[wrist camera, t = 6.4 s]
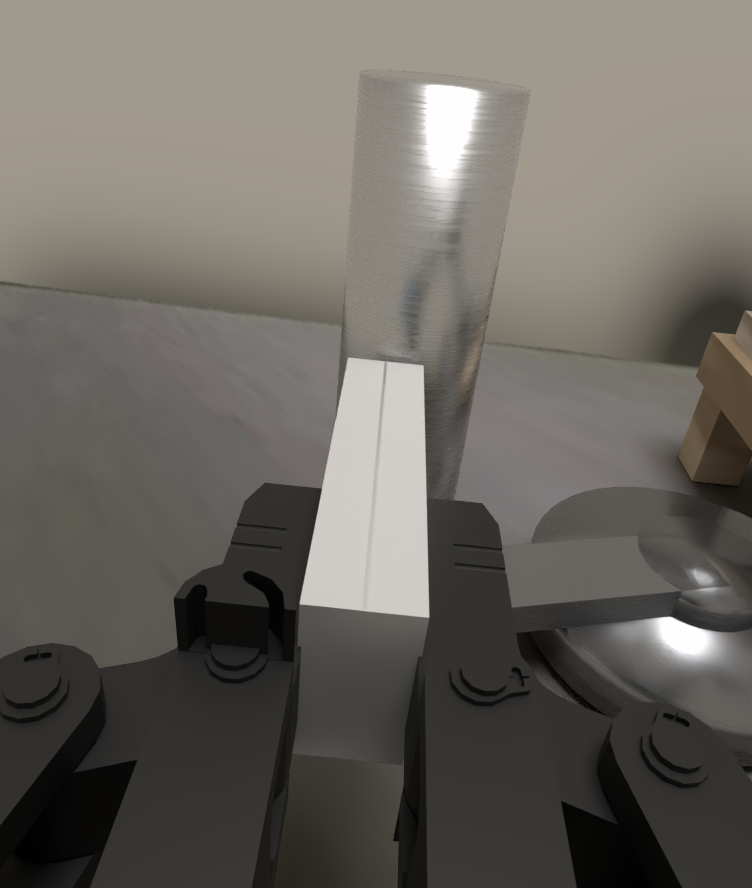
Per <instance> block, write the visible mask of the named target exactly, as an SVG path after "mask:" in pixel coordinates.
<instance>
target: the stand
mask: <svg viewBox="0 0 752 888" xmlns="http://www.w3.org/2000/svg"><path fill="white" fill-rule="evenodd" d="M696 377H697V378H698V379H699V381H700V382H701V383H702V385H703V386H704V389H703V391H702V394H701V396H700V399H699V402H698V404H697V407H696V410H695V412H694V415H693V417H692V420H691V423H690V425H689V428H688V431H687V433H686V436H685V438H684V441H683V444H682V446H681V449H680V451H679V454H678V457H679V459H680V461H681V463H682V464H683V466H684V468H685V470H686V471H687V473H688V475H689V477H690V478H691V480H692V481H696V482H705V483H714V484H723V485H733V486H739V483H740V481H741V479H742V477H743V475H744V472H745V470H746V468H747V466H748V463H749V461H750V459H751V457H752V312H750V311H745V312H744V314H743V317H742V320H741V322H740V325H739V327H738V330H737V333H736V335H733V334H723V333H715V332H712V335H711V337H710V340H709V343H708V345H707V348H706V351H705V353H704V356H703V359H702V362H701V364H700V367H699V369H698V372H697V375H696Z"/></svg>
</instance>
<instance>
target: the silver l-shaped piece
mask: <svg viewBox="0 0 752 888" xmlns="http://www.w3.org/2000/svg"><path fill="white" fill-rule="evenodd" d="M530 92H531V91H530V90H529V89H526V88H523V87H520V86H516V85H511V84H506V83H501V82H495V81H489V80H482V79H475V78H468V77H460V76H452V75H443V74H433V73H423V72H409V71H392V70H365V71H360V73H359V88H358V104H357V117H356V132H355V146H354V160H353V174H352V188H351V203H350V218H349V232H348V247H347V260H346V275H345V289H344V304H343V318H342V332H341V347H340V361H339V375H338V390H337V404H336V417H337V411H338V406H339V401H340V396H341V391H342V386H343V381H344V376H345V371H346V366H347V361H348V357H349V358H358V359H368V360H377V361H387V362H395V363H405V364H414V365H424V408H425V452H426V496H427V498H435V499H445V500H454V499H455V494H456V488H457V483H458V478H459V472H460V467H461V462H462V456H463V451H464V446H465V440H466V435H467V430H468V424H469V419H470V414H471V408H472V403H473V397H474V392H475V387H476V381H477V376H478V371H479V365H480V360H481V355H482V349H483V344H484V339H485V333H486V328H487V323H488V317H489V312H490V306H491V301H492V296H493V290H494V284H495V280H496V274H497V268H498V264H499V258H500V253H501V247H502V242H503V237H504V232H505V226H506V220H507V215H508V210H509V204H510V199H511V194H512V188H513V183H514V178H515V173H516V167H517V162H518V157H519V151H520V145H521V140H522V135H523V129H524V124H525V119H526V114H527V108H528V103H529V98H530ZM335 422H336V419H335ZM502 553H503V555H504V561H505V567H506V569H505V573H506V574H507V580H508V586H509V592H510V598H511V604H512V611H513V617H514V623H515V629H516V633H522V632H530V633H531V635H532V638H533V639H534V641H535V643H536V644H537V646H538V648H539V649H540V651H541V653H542V654H543V656H544V657H545V658H546V660H547V661H548V662H549V663H550V665H551V666H552V667H553V669H554V670H555V671H556V672H557V673H558V674H559V675H560V676H561V677H562V679H563V680H564V681H565V682H566V683H567V684H568V685H569V686H570V687H571V688H572V689H573V690H574V691H576V692H577V693H578V694H579V695H580V696H581V697H583V698H584V699H585V700H586V701H587V702H588V703H590V704H591V705H592V706H594V707H595V708H596V709H598V710H599V711H601V712H602V713H603V714H605V715H606V716H608V717H610V718H613V719H615V717H616V716H617V715H618V714H619V713H620V712H621V711H622V709H623V708H625V707H628V706H631V705H634V704H637V703H640V702H654V703H665V704H668V705H671V706H673V707H676V708H679V709H681V710H684V711H687V712H689V713H690V714H692V715H693V716H695V717H696V718H698V719H699V720H701V721H702V722H704V723H705V724H706V725H708V726H709V727H711V728H712V730H713V731H714V732H715V733H716V734H717V735H718V736H719V737H720V738H721V740H722V741H723V742H724V743H725V744H726V745H727V746H728V748H729V749H730V750H731V752H732V753H733V755H734V756H735V758H736V759H737V761H738V762H739V764H740V765H741V766H751V767H752V518H750V517H748V516H746V515H744V514H742V513H739V512H737V511H734V510H732V509H729V508H727V507H724V506H722V505H719V504H716V503H713V502H710V501H707V500H704V499H700V498H697V497H693V496H689V495H686V494H681V493H676V492H671V491H666V490H659V489H652V488H640V487H611V488H602V489H595V490H591V491H586V492H582V493H580V494H577V495H574V496H571V497H569V498H567V499H565V500H563V501H561V502H559V503H558V504H557V505H555V506H554V507H552V508H551V509H550V510H549V511H548V512H547V513H546V514H545V515H544V516H543V517H542V519H541V520H540V522H539V524H538V525H537V527H536V529H535V532H534V535H533V538H532V542H531V544H523V545H509V546H502Z"/></svg>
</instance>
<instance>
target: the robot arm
mask: <svg viewBox="0 0 752 888" xmlns="http://www.w3.org/2000/svg"><path fill="white" fill-rule="evenodd" d="M505 569H506V567H505V561H504V555H503V553H502V543H501V537H500V530H499V525H498V524H497V522H496V521H495V520H494V518H493V517H492V516H491V514H490V513H489V512H488V510H487V509H486V508H485V506H484V505H483V504H482V503H474V502H464V501H454V500H445V499H435V498H427V496H426V452H425V408H424V365H414V364H405V363H395V362H387V361H377V360H368V359H358V358H349V357H348V361H347V366H346V371H345V376H344V381H343V386H342V391H341V396H340V401H339V406H338V411H337V417H336V422H335V427H334V432H333V437H332V442H331V447H330V452H329V457H328V462H327V467H326V472H325V477H324V482H323V487H322V489H319V488H310V487H300V486H290V485H281V484H271V483H264V484H263V485H262V486H261V487H260V488H259V489H258V490H256V491H255V492H254V493H253V494H252V495H251V496H250V497H249V498H248V499H247V500H245V503H244V505H243V508H242V511H241V514H240V517H239V520H238V522H237V528H235V531H234V534H233V537H232V540H231V544H230V547H229V548H228V551H227V554H226V557H225V560H224V562H223V564H221V565H218V566H215V567H211V568H208V569H205V570H202V571H201V572H199V573H198V574H196V575H195V576H193V577H192V578H190V579H189V580H187V581H186V582H185V583H184V584H183V585H182V587H181V588H180V590H179V591H178V592H177V594H176V595H175V597H174V606H175V618H176V630H177V642H178V647H177V648H175V649H174V650H172V651H170V652H168V653H165V654H163V655H161V656H159V657H156V658H152V659H148V660H144V661H140V662H135V663H129V664H123V665H117V666H111V667H105V668H98V666H97V665H96V663H95V661H94V660H93V658H92V656H91V655H89V654H87V653H85V652H84V651H82V650H80V649H78V648H77V647H75V646H69V645H62V644H54V643H50V644H44V645H37V646H31V647H26V648H24V649H21V650H19V651H17V652H14V653H12V654H10V655H7V656H5V657H2V658H1V659H0V888H273V885H274V879H275V873H276V867H277V860H278V854H279V848H280V842H281V836H282V830H283V823H284V817H285V811H286V805H287V799H288V782H289V769H290V763H291V757H292V754H302V755H312V756H322V757H332V758H342V759H349V760H359V761H369V762H379V763H389V764H399V765H402V762H403V757H404V787H403V792H402V797H401V802H400V808H399V813H398V818H397V823H396V828H395V834H394V839H393V841H399V855H398V888H752V782H751V780H750V779H749V777H748V776H747V774H746V773H745V771H744V770H743V768H742V767H741V765H740V764H739V762H738V761H737V759H736V758H735V756H734V755H733V753H732V752H731V750H730V749H729V748H728V746H727V745H726V744H725V743H724V742H723V741H722V740H721V738H720V737H719V736H718V735H717V734H716V733H715V732H714V731H713V730H712V728H711V727H709V726H708V725H706V724H705V723H704V722H702V721H701V720H699V719H698V718H696V717H695V716H693V715H692V714H690V713H689V712H687V711H684V710H681V709H679V708H676V707H673V706H671V705H668V704H665V703H654V702H640V703H637V704H634V705H631V706H628V707H625V708H623V709H622V711H621V712H620V713H619V714H618V715H617V716H616V717H615V719H613V718H610V717H607V716H605V715H602V714H600V713H597V712H594V711H592V710H589V709H587V708H584V707H581V706H579V705H576V704H574V703H572V702H570V701H567V700H565V699H563V698H561V697H559V696H557V695H556V694H554V693H553V692H552V691H550V690H549V689H547V688H546V687H545V686H543V685H542V684H541V683H540V682H539V681H538V680H537V678H536V676H535V673H534V671H533V669H532V668H531V667H530V665H529V664H528V663H527V662H526V661H525V660H524V659H523V658H522V656H521V653H520V650H519V647H518V641H517V635H516V629H515V623H514V617H513V611H512V604H511V598H510V592H509V586H508V580H507V574H506V573H505Z"/></svg>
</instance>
